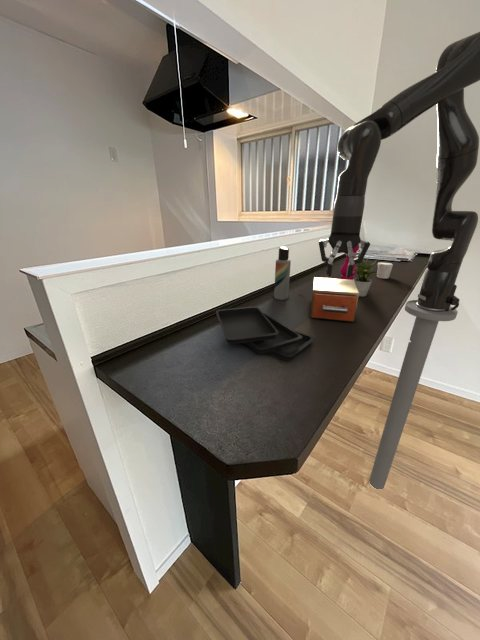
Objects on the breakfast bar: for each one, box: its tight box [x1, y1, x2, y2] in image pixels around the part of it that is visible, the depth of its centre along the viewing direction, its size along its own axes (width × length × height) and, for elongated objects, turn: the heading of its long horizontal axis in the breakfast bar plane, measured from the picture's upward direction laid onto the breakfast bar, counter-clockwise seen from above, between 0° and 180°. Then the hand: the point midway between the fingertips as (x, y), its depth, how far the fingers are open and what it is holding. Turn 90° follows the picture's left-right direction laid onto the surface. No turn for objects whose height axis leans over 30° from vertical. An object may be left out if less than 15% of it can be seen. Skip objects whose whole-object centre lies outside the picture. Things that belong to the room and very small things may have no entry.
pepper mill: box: [339, 243, 360, 280], centre depth 126 cm, size 7×7×20 cm
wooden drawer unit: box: [312, 293, 357, 322], centre depth 87 cm, size 19×13×8 cm, turn 164°
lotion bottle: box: [273, 246, 292, 301], centre depth 103 cm, size 6×6×20 cm
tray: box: [215, 306, 316, 362], centre depth 73 cm, size 30×23×5 cm
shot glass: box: [376, 261, 394, 280], centre depth 133 cm, size 7×7×7 cm
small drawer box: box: [309, 276, 360, 323], centre depth 91 cm, size 16×14×10 cm
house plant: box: [353, 255, 383, 297], centre depth 107 cm, size 14×14×16 cm
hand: (338, 276), depth 78 cm, fingers open, 4 cm apart
